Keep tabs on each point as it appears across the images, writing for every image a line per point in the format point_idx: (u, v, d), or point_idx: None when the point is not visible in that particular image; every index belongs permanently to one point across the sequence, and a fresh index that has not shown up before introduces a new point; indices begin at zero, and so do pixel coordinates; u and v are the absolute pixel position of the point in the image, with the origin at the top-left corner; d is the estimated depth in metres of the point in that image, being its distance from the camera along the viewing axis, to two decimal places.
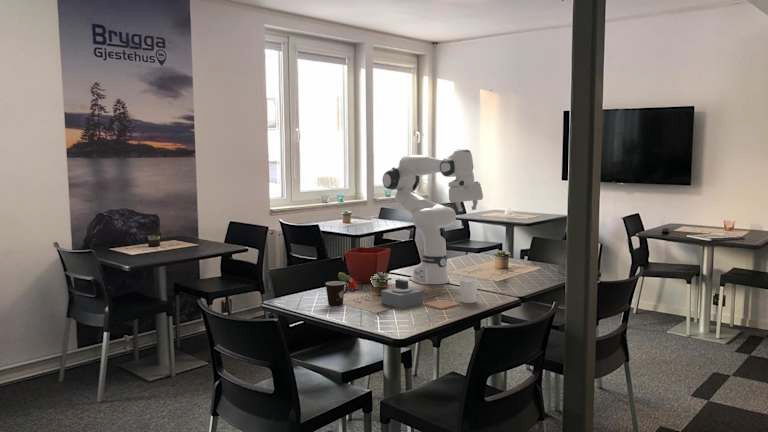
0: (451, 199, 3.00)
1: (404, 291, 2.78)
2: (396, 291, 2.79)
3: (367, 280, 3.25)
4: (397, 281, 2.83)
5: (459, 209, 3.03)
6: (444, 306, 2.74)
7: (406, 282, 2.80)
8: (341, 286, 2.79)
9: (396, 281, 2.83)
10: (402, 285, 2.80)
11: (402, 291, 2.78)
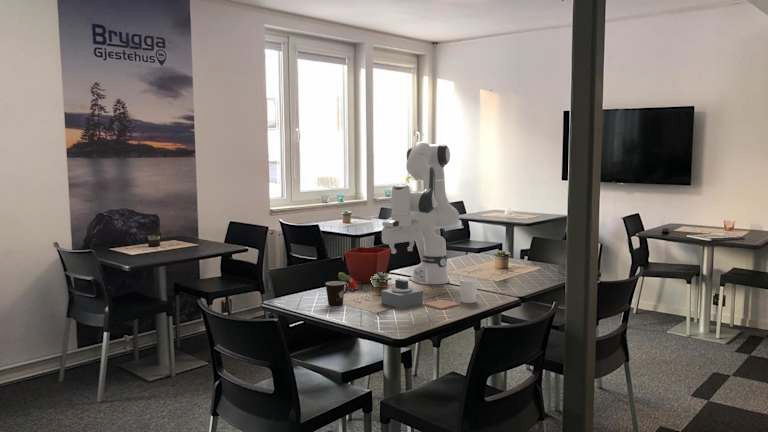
0: (383, 241, 2.74)
1: (404, 291, 2.78)
2: (396, 291, 2.79)
3: (367, 280, 3.25)
4: (397, 281, 2.83)
5: (392, 251, 2.77)
6: (444, 306, 2.74)
7: (406, 282, 2.80)
8: (341, 286, 2.79)
9: (396, 281, 2.83)
10: (402, 285, 2.80)
11: (402, 291, 2.78)
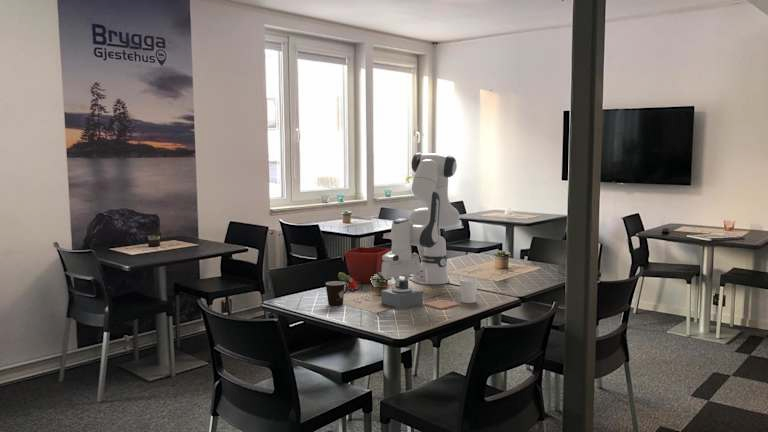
0: (383, 275, 2.76)
1: (404, 291, 2.78)
2: (396, 291, 2.79)
3: (367, 280, 3.25)
4: None
5: (397, 284, 2.81)
6: (444, 306, 2.74)
7: (406, 282, 2.80)
8: (341, 286, 2.79)
9: None
10: (402, 285, 2.80)
11: (402, 291, 2.78)
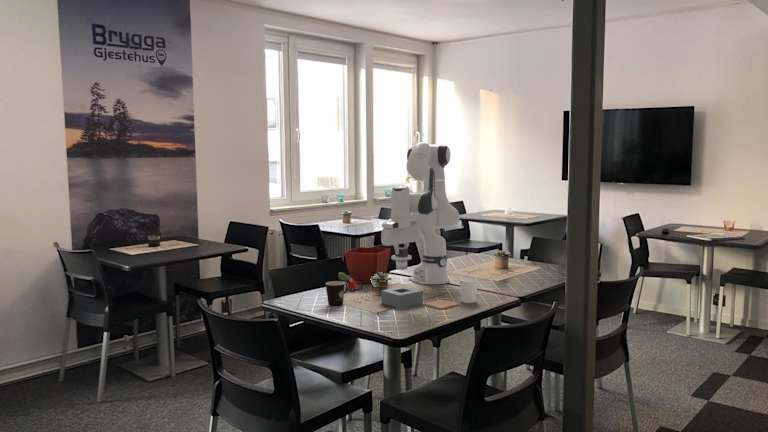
0: (383, 242, 2.74)
1: (404, 259, 2.77)
2: (396, 259, 2.78)
3: (367, 280, 3.25)
4: None
5: (397, 252, 2.79)
6: (444, 306, 2.74)
7: (406, 250, 2.79)
8: (341, 286, 2.79)
9: None
10: (402, 253, 2.79)
11: (402, 259, 2.77)
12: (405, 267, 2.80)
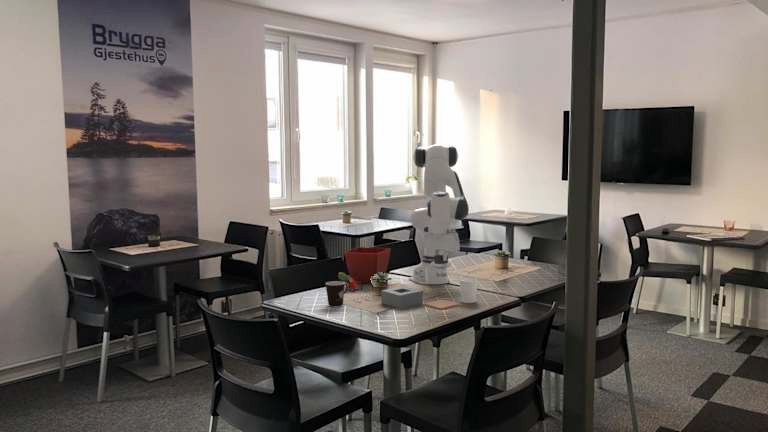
0: None
1: (431, 264, 2.76)
2: None
3: (367, 280, 3.25)
4: None
5: None
6: (444, 306, 2.74)
7: (436, 257, 2.75)
8: (341, 286, 2.79)
9: None
10: None
11: None
12: (437, 274, 2.76)
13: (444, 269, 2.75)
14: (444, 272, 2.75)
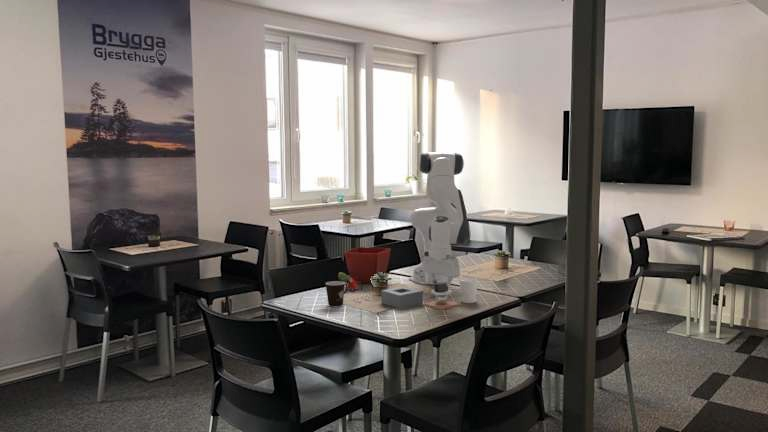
0: None
1: (431, 293, 2.78)
2: None
3: (367, 280, 3.25)
4: None
5: None
6: (444, 306, 2.74)
7: (436, 285, 2.76)
8: (341, 286, 2.79)
9: None
10: None
11: (431, 292, 2.79)
12: (437, 302, 2.78)
13: (444, 298, 2.77)
14: (445, 301, 2.77)
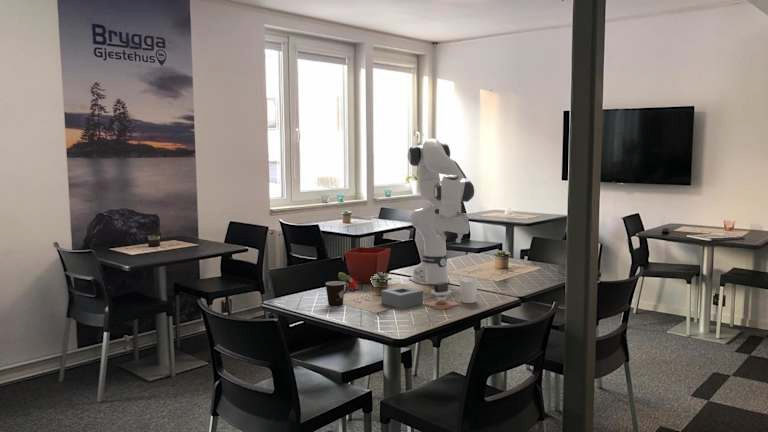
0: None
1: (431, 293, 2.78)
2: None
3: (367, 280, 3.25)
4: None
5: None
6: (444, 306, 2.74)
7: (436, 285, 2.76)
8: (341, 286, 2.79)
9: None
10: None
11: (431, 292, 2.79)
12: (437, 302, 2.78)
13: (444, 298, 2.77)
14: (445, 301, 2.77)
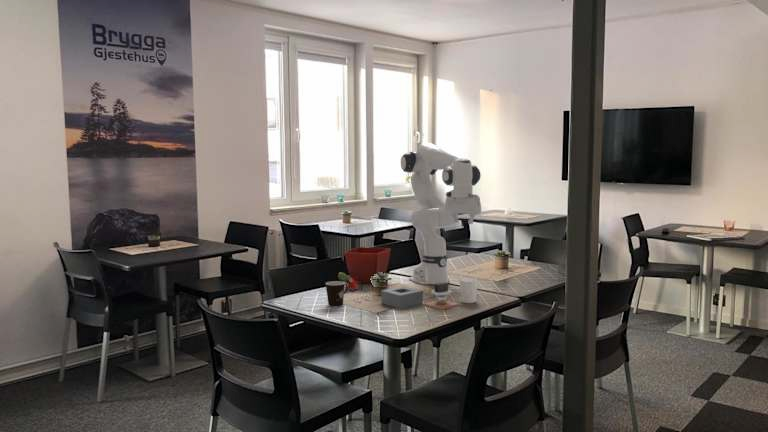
0: None
1: (431, 293, 2.78)
2: None
3: (367, 280, 3.25)
4: None
5: None
6: (444, 306, 2.74)
7: (436, 285, 2.76)
8: (341, 286, 2.79)
9: None
10: None
11: (431, 292, 2.78)
12: (437, 302, 2.77)
13: (444, 298, 2.77)
14: (445, 301, 2.77)
